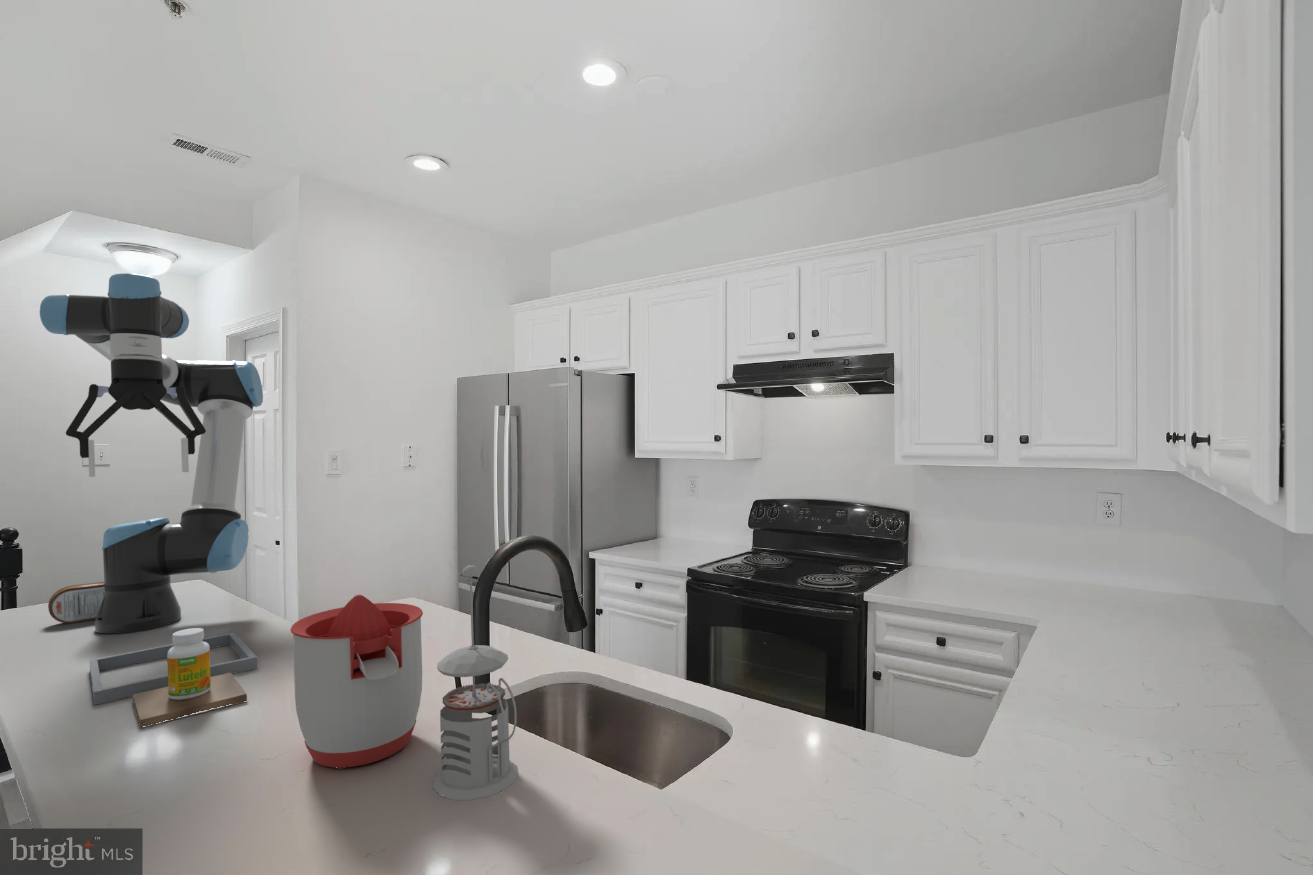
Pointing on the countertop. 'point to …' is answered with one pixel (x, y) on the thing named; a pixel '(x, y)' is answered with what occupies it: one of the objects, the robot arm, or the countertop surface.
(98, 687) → the tray frame
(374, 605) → the citrus juicer
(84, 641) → the countertop surface
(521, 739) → the countertop surface
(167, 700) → the walnut board
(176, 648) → the supplement bottle
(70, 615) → the tin
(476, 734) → the french press
